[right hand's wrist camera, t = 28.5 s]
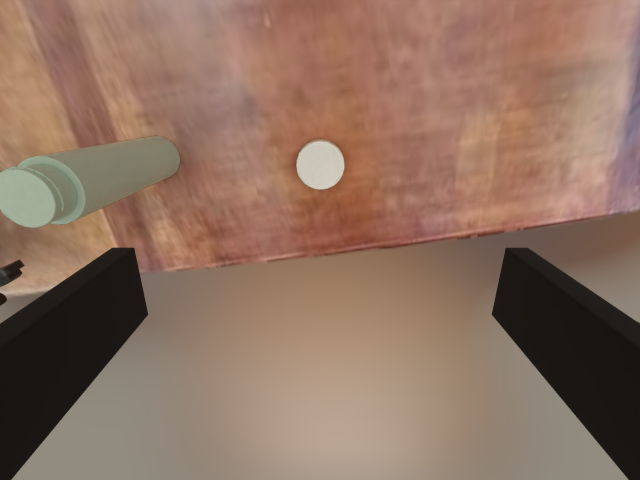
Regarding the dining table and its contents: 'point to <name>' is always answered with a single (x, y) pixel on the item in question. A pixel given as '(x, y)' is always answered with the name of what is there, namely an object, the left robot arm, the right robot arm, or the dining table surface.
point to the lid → (320, 164)
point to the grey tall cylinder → (83, 180)
